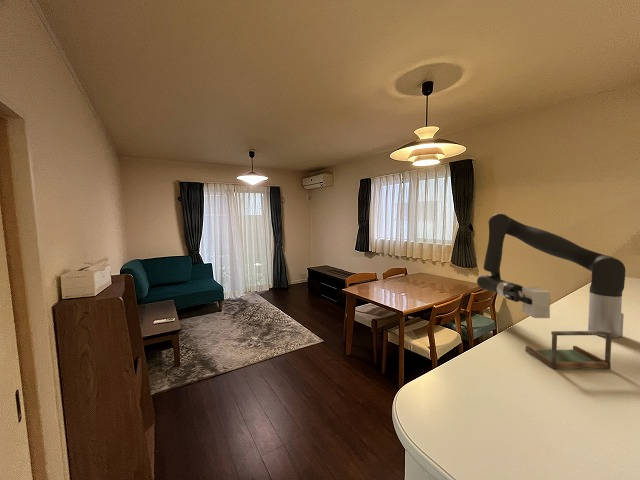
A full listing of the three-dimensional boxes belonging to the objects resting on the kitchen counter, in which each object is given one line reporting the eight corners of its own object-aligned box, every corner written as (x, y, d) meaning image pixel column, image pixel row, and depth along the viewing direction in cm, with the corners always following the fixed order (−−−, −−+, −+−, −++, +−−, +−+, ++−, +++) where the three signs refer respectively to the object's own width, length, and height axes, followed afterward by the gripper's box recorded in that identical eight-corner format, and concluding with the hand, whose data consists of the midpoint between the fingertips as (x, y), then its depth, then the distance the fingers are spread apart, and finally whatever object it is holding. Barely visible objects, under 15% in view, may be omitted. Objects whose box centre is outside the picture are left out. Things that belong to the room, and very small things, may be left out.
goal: (575, 351, 96) (577, 318, 95) (611, 369, 83) (612, 332, 83) (525, 351, 96) (526, 318, 96) (553, 369, 84) (554, 332, 84)
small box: (550, 318, 99) (550, 292, 98) (533, 318, 100) (534, 291, 99) (536, 311, 107) (537, 286, 106) (521, 311, 108) (522, 286, 107)
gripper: (494, 283, 117) (521, 293, 101) (527, 282, 116) (559, 292, 100) (494, 299, 118) (521, 311, 101) (526, 298, 117) (559, 311, 100)
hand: (540, 302), depth 100 cm, fingers closed on small box, 6 cm apart
